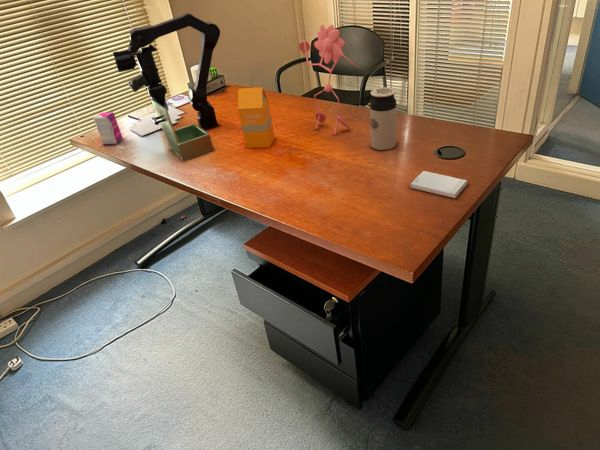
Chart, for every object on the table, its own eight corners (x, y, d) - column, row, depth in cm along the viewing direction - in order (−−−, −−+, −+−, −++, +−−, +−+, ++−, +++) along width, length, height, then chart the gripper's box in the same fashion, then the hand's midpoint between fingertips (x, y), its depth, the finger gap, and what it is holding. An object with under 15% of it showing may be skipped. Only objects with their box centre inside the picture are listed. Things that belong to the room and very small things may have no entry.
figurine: (351, 140, 151) (344, 32, 131) (298, 126, 167) (285, 27, 147) (379, 124, 159) (376, 20, 139) (326, 112, 175) (317, 17, 155)
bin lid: (153, 99, 154) (141, 104, 152) (167, 109, 143) (154, 114, 142) (165, 131, 161) (154, 135, 159) (179, 143, 150) (167, 147, 149)
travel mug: (390, 138, 148) (389, 85, 138) (400, 147, 142) (400, 92, 132) (367, 143, 147) (365, 90, 137) (376, 152, 141) (375, 97, 131)
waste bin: (198, 138, 169) (194, 123, 165) (213, 150, 158) (209, 134, 155) (170, 148, 164) (165, 133, 161) (183, 161, 154) (178, 144, 150)
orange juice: (251, 138, 163) (241, 84, 151) (274, 137, 161) (265, 83, 149) (245, 148, 156) (234, 92, 145) (269, 147, 154) (259, 91, 143)
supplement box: (116, 144, 174) (105, 117, 168) (103, 145, 176) (92, 118, 169) (123, 138, 179) (113, 111, 172) (111, 139, 180) (100, 112, 174)
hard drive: (410, 183, 120) (455, 193, 113) (423, 170, 125) (467, 179, 118) (410, 188, 121) (454, 199, 114) (423, 175, 126) (466, 184, 119)
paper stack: (120, 124, 193) (119, 123, 192) (171, 106, 205) (170, 105, 205) (141, 137, 177) (141, 135, 177) (195, 116, 189) (195, 115, 189)
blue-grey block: (155, 110, 169) (150, 95, 166) (166, 107, 171) (162, 92, 167) (156, 113, 166) (152, 99, 163) (168, 110, 167) (164, 95, 164)
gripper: (122, 66, 164) (136, 106, 173) (128, 76, 149) (143, 120, 158) (152, 59, 167) (164, 99, 176) (160, 69, 152) (173, 112, 161)
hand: (161, 107), depth 168 cm, fingers closed on blue-grey block, 4 cm apart
